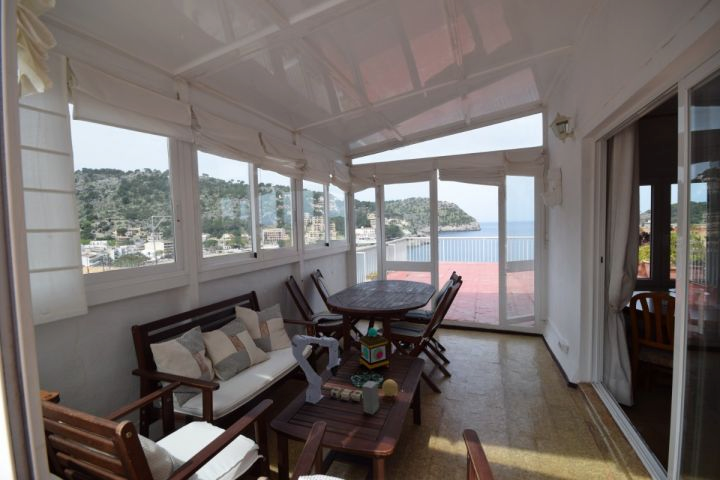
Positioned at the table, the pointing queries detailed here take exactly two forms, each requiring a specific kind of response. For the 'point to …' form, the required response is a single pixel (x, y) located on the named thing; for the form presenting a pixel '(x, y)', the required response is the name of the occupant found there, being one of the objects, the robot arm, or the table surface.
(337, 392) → the marked block
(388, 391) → the stress ball
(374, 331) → the decorative lantern
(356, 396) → the marked block
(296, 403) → the table surface
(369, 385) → the skincare box
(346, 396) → the plain block
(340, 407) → the table surface
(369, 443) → the table surface
